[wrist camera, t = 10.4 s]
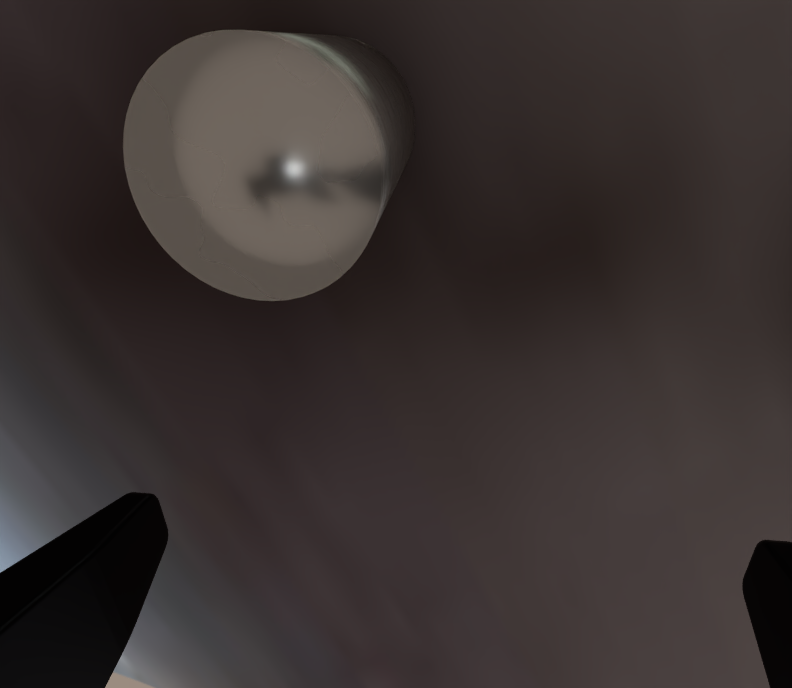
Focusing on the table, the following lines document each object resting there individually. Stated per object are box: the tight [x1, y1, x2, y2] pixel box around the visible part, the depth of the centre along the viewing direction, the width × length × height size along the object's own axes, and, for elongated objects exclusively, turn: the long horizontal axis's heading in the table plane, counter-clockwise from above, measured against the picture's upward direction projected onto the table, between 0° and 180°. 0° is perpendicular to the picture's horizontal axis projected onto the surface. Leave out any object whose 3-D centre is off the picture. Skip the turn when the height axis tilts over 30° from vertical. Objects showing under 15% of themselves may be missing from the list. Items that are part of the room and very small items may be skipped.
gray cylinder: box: [123, 30, 415, 301], centre depth 14 cm, size 5×5×8 cm
